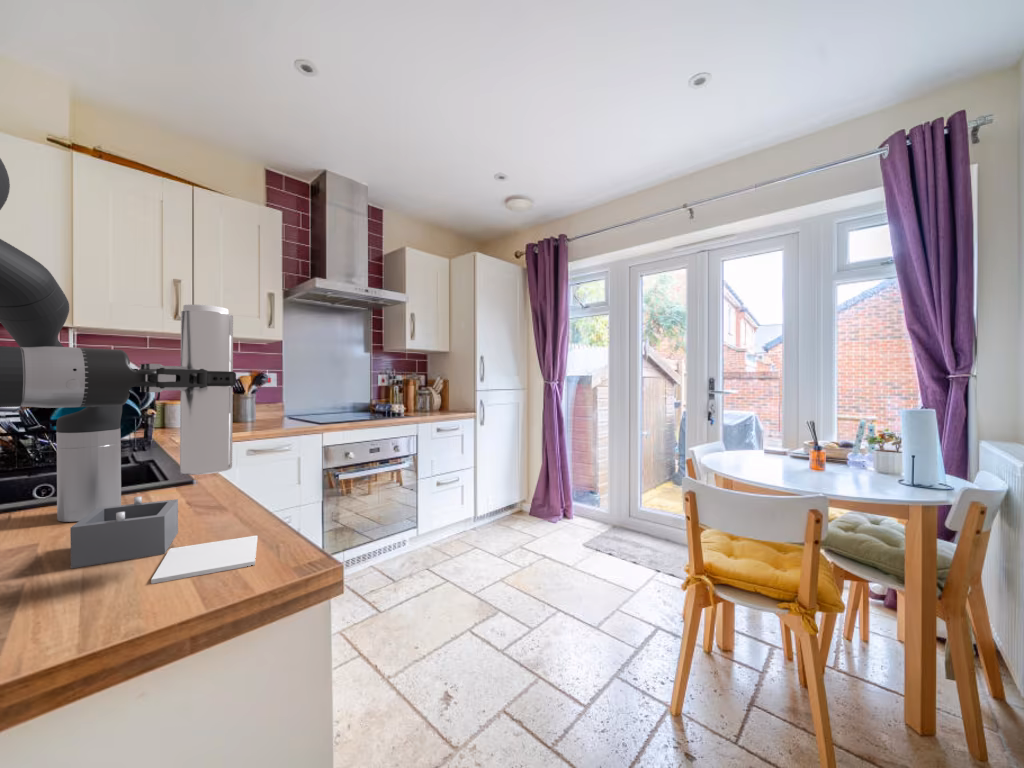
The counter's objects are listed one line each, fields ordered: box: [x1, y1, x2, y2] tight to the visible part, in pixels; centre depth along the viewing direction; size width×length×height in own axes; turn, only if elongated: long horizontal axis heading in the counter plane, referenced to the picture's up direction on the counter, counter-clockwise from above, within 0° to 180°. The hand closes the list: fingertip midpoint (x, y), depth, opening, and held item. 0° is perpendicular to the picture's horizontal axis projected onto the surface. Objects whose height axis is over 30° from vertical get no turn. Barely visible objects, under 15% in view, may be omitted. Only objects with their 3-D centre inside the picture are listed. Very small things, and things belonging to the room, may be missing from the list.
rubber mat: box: [150, 535, 259, 585], centre depth 66 cm, size 12×12×1 cm
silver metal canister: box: [179, 304, 234, 476], centre depth 65 cm, size 6×6×25 cm
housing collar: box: [70, 496, 179, 569], centre depth 70 cm, size 11×11×7 cm
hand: (226, 378), depth 67 cm, fingers closed on silver metal canister, 5 cm apart
